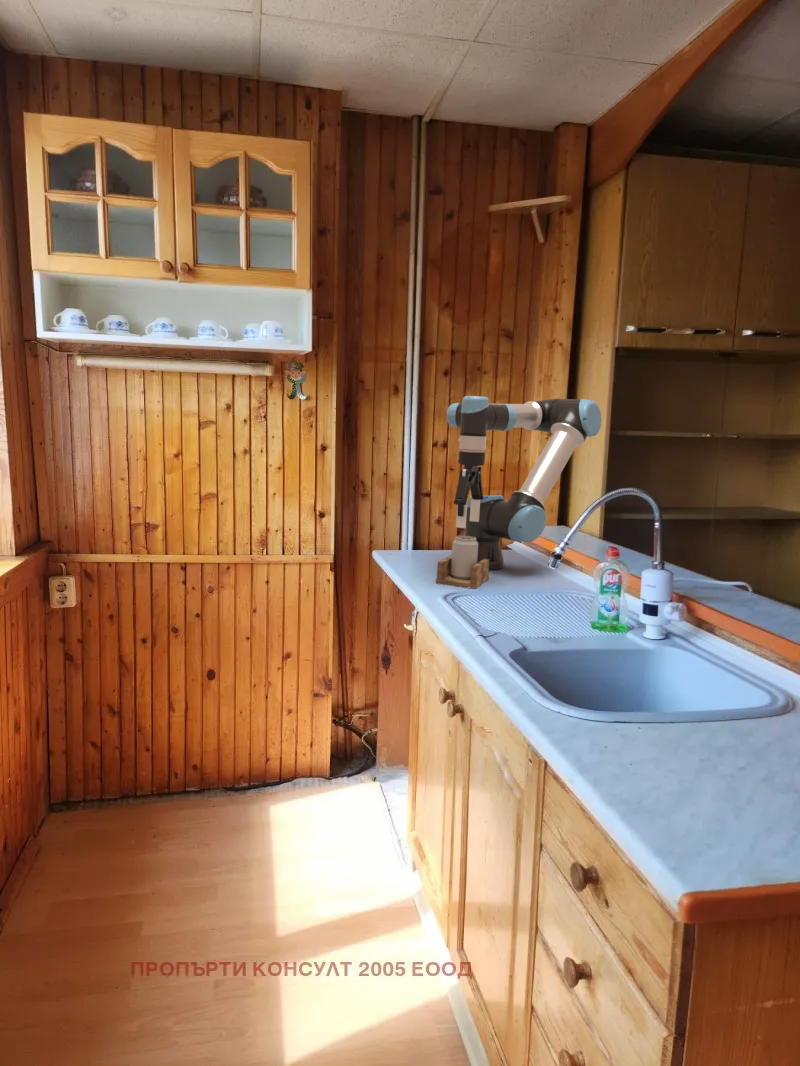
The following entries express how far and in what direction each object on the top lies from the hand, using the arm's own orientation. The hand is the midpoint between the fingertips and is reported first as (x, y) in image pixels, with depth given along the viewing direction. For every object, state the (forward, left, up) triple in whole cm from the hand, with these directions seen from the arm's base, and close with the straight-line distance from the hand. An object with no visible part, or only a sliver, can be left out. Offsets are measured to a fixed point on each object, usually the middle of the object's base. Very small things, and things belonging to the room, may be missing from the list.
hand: (467, 524), depth 210 cm
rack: (0, 0, -17) cm, 17 cm away
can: (0, 0, -16) cm, 16 cm away
